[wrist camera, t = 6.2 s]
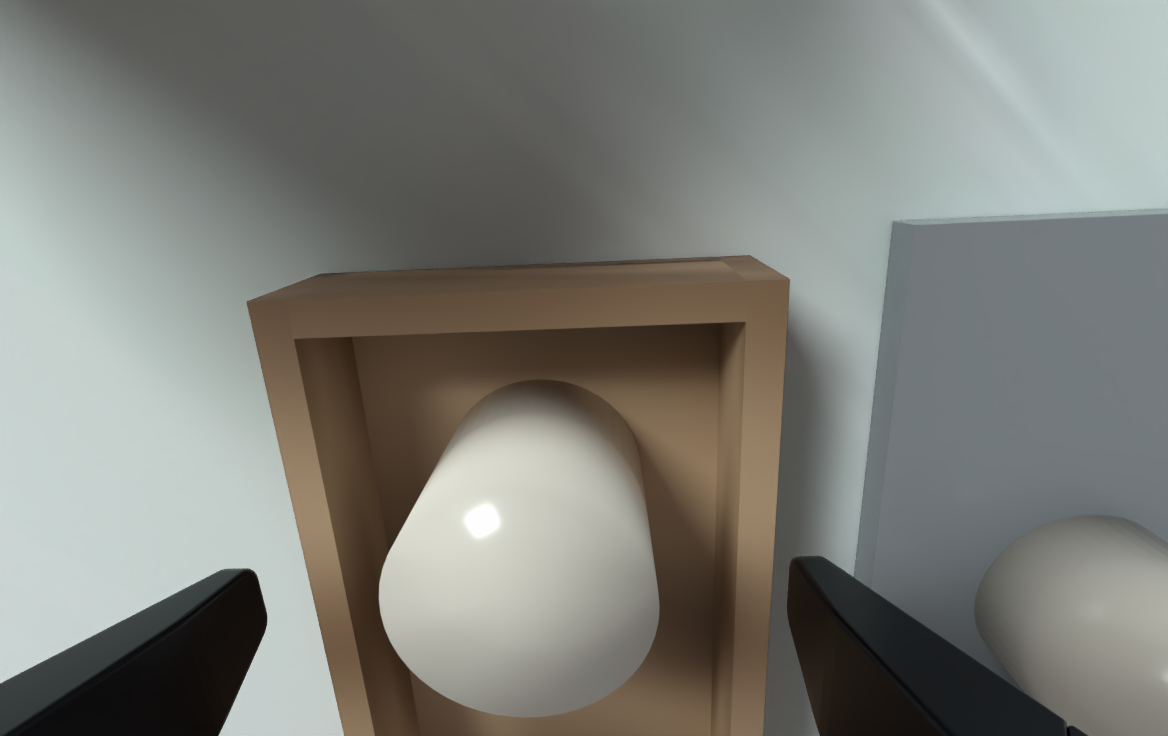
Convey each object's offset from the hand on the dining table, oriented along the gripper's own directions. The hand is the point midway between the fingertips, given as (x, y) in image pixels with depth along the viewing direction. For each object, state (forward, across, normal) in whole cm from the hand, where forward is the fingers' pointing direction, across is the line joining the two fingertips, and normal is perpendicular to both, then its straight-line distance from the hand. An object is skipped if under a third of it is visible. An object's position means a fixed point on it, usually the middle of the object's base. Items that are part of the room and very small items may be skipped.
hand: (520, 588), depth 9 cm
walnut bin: (+4, 0, +3) cm, 5 cm away
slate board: (+4, -10, +3) cm, 12 cm away
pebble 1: (+4, 0, 0) cm, 4 cm away
